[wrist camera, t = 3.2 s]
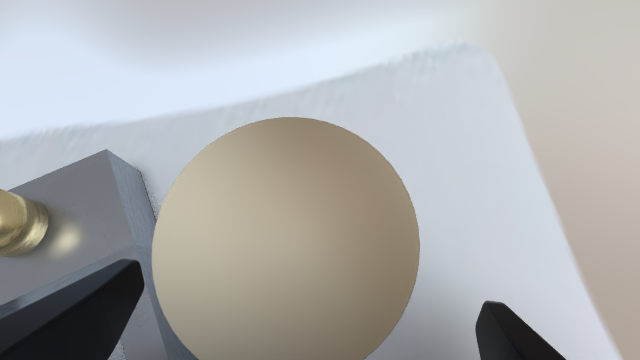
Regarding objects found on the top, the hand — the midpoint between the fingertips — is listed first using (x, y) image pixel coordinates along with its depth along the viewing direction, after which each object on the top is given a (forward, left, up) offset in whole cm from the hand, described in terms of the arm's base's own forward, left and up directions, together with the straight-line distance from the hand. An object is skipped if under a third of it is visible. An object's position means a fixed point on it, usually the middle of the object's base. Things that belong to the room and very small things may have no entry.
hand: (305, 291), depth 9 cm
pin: (0, +1, -8) cm, 8 cm away
